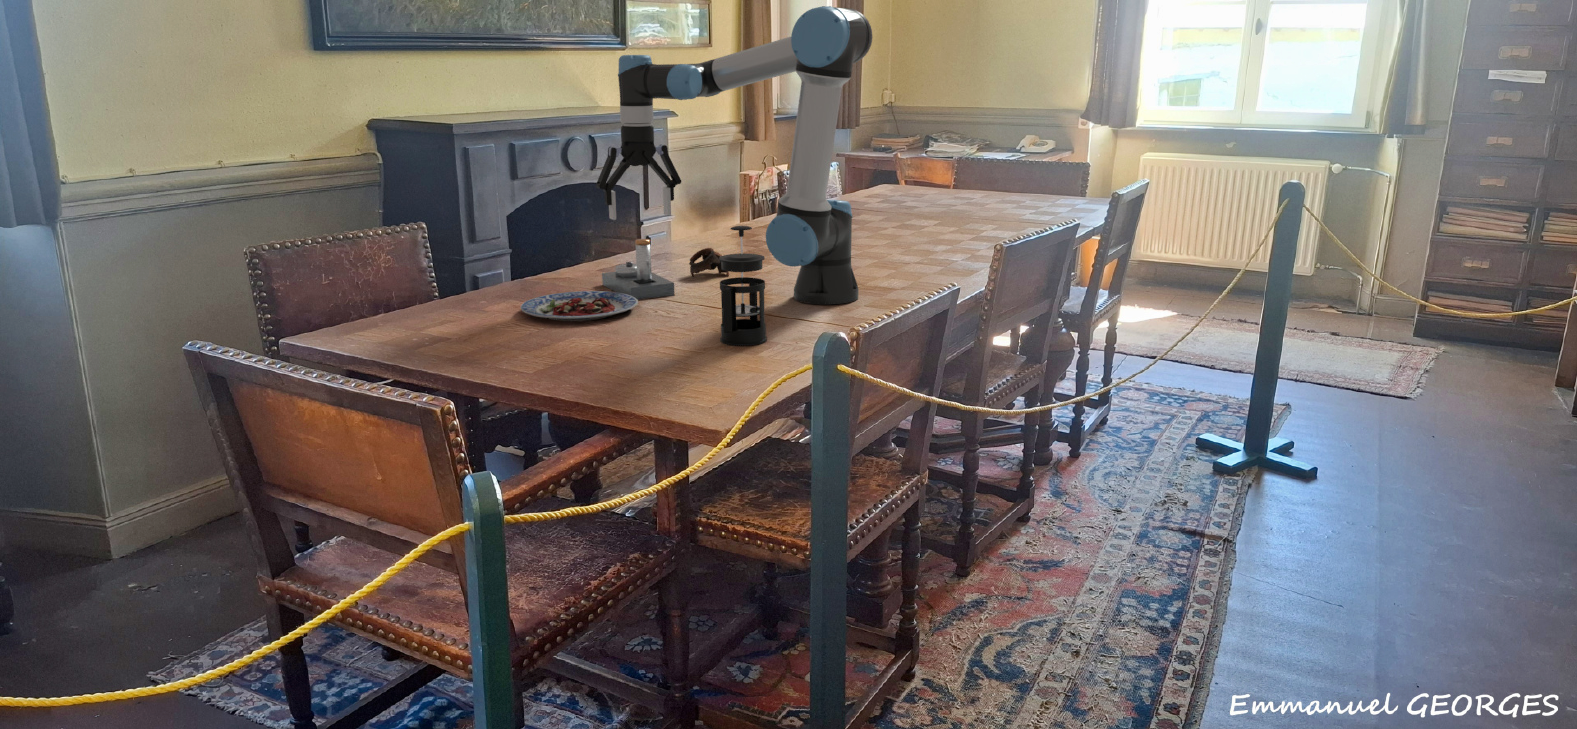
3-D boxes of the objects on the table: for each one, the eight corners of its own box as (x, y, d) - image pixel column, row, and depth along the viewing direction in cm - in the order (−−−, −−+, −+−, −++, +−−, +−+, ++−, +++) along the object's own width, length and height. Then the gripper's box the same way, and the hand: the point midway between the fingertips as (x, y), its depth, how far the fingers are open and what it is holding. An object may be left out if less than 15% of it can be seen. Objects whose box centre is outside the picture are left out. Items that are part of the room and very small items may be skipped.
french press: (736, 331, 224) (733, 220, 218) (776, 336, 220) (775, 223, 214) (707, 345, 214) (703, 229, 208) (748, 350, 210) (746, 232, 204)
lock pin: (654, 294, 259) (652, 240, 256) (640, 296, 258) (638, 241, 254) (649, 291, 262) (646, 238, 259) (635, 293, 261) (633, 239, 257)
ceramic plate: (655, 303, 251) (655, 290, 251) (609, 330, 228) (608, 316, 227) (555, 297, 258) (554, 285, 257) (499, 323, 234) (498, 309, 233)
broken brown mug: (733, 280, 277) (718, 254, 272) (700, 296, 278) (685, 271, 274) (729, 260, 287) (715, 235, 283) (698, 275, 288) (683, 251, 284)
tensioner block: (674, 295, 258) (673, 270, 257) (630, 300, 253) (629, 275, 252) (644, 280, 275) (642, 256, 273) (602, 284, 270) (601, 261, 268)
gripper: (680, 121, 258) (683, 211, 264) (579, 125, 246) (584, 218, 252) (693, 123, 251) (695, 215, 257) (589, 127, 240) (594, 223, 246)
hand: (640, 217), depth 255 cm, fingers open, 13 cm apart
